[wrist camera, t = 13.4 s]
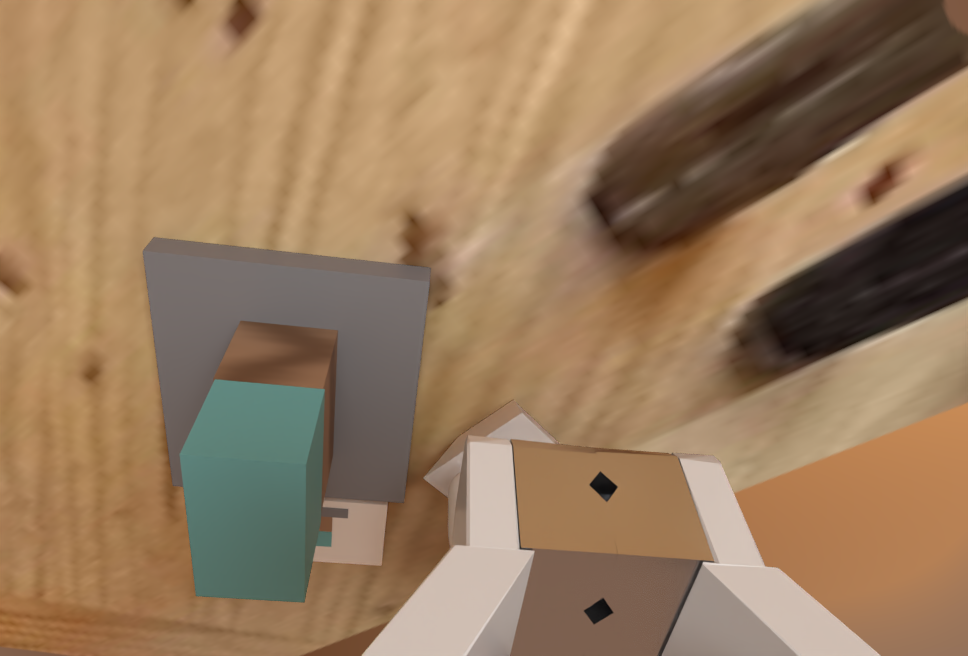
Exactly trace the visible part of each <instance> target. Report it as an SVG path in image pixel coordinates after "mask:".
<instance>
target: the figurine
mask: <svg viewBox="0 0 968 656" xmlns="http://www.w3.org/2000/svg"><path fill="white" fill-rule="evenodd" d="M468 435H471V436H480V437H489V438H499V439H508V440H509V441H510V439H516V440H525V441H535V442H544V443H554V444H559V443H558V442H557V441H556V440H555V439H554V438H553V437H552V436H551V435H550V434H549V433H548V432H547V431H546V430H545V429H544V428H543V427H542V426H540V425H539V424H538V423H537V422H536V421H535V420H534V419H533V418H532V417H531V416H530V415H529V414H528V413H527V412H526V411H525V410H523V409H522V408H521V407H520V406H519V405H518V404H517V403H516V402H515V401H514V400H512V401H511V402H509V403H508V404H506V405H505V406H503V407H502V408H500V409H499V410H497V411H496V412H494V413H493V414H491V415H490V416H488V417H487V418H485V419H484V420H482V421H481V422H479V423H478V424H476V425H475V426H473V427H472V428H470V429H469V430H467V431H466V432H464V433H463V434H461V435H460V436H458V438H457V439H456V440H455V441H454V442H453V443H452V445H451V446H450V447H449V448H448V449H447V451H446V452H445V453H444V454H443V455H442V456H441V458H440V459H439V460H438V461H437V462H436V463H435V465H434V466H433V467H432V468H431V469H430V470H429V472H428V473H427V474H426V475H425V476H424V477H423V479H425V480H426V481H427V482H428V483H430V484H431V485H432V486H434V487H435V488H436V489H437V490H439V491H440V492H441V493H442V494H444V495H445V496H446V497H447V498H448V538H449V545H450V548H451V547H452V536H453V526H454V517H455V507H456V499H457V492H458V485H459V479H460V472H461V465H462V459H463V452H464V445H465V441H466V438H467V436H468Z"/></svg>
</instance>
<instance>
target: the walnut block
mask: <svg viewBox="0 0 968 656" xmlns="http://www.w3.org/2000/svg"><path fill="white" fill-rule="evenodd" d="M337 341H338V330H330V329H320V328H310V327H300V326H290V325H280V324H270V323H260V322H250V321H240V323H239V325H238V327H237V329H236V331H235V333H234V336H233V338H232V340H231V342H230V344H229V346H228V348H227V350H226V352H225V355H224V357H223V359H222V361H221V363H220V365H219V367H218V369H217V371H216V374H215V376H214V378H213V382H214V380H215V379H217V380H228V381H239V382H250V383H261V384H272V385H283V386H294V387H305V388H316V389H325V402H324V436H323V469H322V502H321V512H322V507H323V502H324V497H325V492H326V487H327V483H328V478H329V473H330V468H331V463H332V458H333V443H334V417H335V392H336V366H337Z"/></svg>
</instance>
